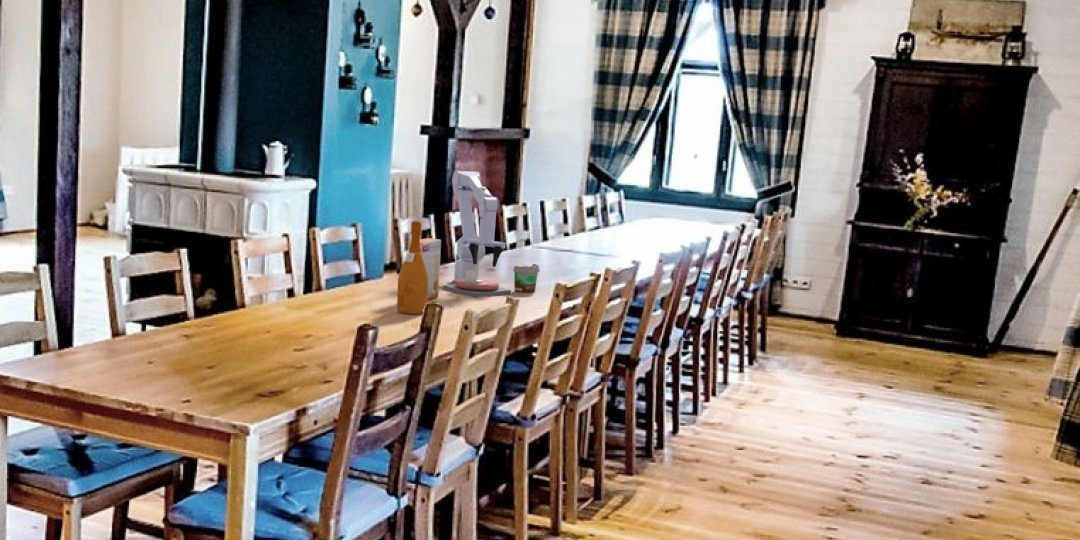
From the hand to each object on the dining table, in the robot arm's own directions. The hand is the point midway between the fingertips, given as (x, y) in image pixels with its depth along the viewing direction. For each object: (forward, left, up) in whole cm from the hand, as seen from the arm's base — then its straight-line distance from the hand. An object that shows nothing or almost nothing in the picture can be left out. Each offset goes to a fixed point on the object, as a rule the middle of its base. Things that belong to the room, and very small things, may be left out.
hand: (484, 265), depth 410 cm
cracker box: (+6, -34, -10) cm, 36 cm away
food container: (+10, +14, -10) cm, 20 cm away
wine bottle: (+23, -52, -10) cm, 58 cm away
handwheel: (+2, -5, -7) cm, 9 cm away
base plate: (+2, -5, -9) cm, 11 cm away
